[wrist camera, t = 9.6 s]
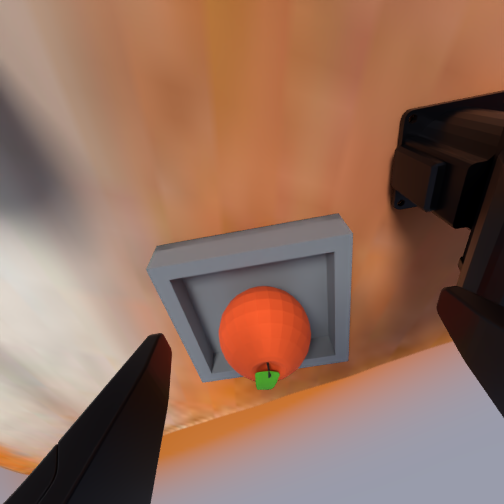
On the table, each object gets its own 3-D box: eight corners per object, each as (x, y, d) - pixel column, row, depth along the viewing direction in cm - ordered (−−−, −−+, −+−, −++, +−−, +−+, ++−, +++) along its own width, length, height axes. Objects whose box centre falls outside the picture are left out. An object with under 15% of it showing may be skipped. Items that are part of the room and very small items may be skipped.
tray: (338, 213, 20) (352, 233, 18) (338, 335, 28) (348, 361, 25) (156, 245, 21) (146, 269, 18) (205, 355, 29) (202, 382, 26)
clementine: (292, 333, 26) (309, 411, 20) (220, 333, 26) (216, 412, 20) (307, 268, 22) (333, 343, 16) (220, 266, 21) (214, 342, 15)
